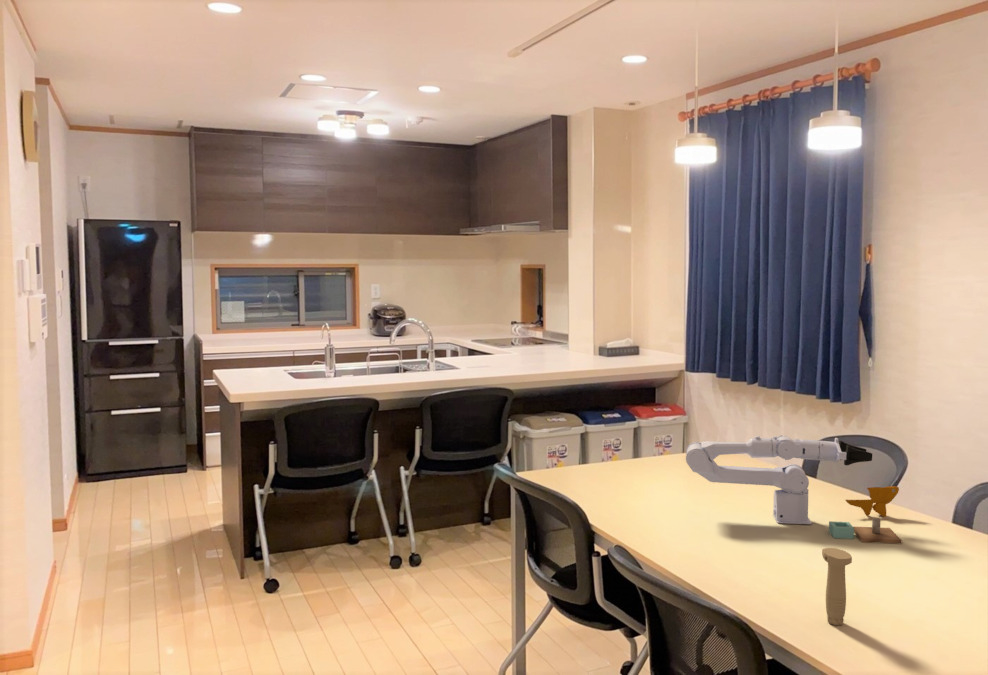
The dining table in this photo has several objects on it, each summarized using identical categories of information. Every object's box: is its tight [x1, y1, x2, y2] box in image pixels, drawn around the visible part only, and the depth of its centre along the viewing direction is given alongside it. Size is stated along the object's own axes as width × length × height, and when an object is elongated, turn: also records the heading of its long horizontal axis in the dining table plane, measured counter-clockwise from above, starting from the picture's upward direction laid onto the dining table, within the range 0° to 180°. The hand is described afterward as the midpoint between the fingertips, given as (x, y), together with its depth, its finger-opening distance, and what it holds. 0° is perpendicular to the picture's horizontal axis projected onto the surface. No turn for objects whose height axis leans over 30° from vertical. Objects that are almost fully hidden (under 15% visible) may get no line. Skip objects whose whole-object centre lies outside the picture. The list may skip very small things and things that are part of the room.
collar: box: [828, 521, 855, 540], centre depth 221 cm, size 5×5×3 cm
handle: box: [821, 547, 853, 626], centre depth 167 cm, size 5×6×15 cm
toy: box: [844, 485, 900, 518], centre depth 238 cm, size 3×16×10 cm, turn 89°
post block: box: [853, 517, 903, 544], centre depth 220 cm, size 10×10×5 cm
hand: (869, 454), depth 228 cm, fingers open, 7 cm apart
